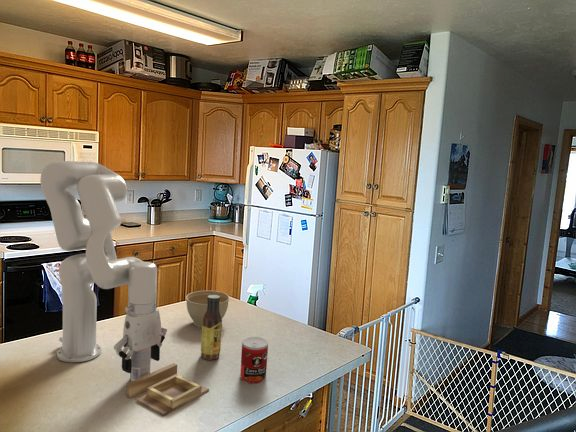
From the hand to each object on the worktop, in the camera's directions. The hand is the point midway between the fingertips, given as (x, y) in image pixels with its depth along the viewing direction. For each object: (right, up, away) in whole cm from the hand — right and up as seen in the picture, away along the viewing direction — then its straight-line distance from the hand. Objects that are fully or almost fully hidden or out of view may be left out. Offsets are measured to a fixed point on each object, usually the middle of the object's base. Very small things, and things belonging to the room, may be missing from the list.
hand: (141, 365), depth 127 cm
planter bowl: (+10, +1, +45) cm, 46 cm away
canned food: (+31, -6, +6) cm, 32 cm away
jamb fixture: (+9, -6, -6) cm, 12 cm away
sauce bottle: (+16, -3, +18) cm, 25 cm away
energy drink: (-1, -4, +1) cm, 5 cm away
